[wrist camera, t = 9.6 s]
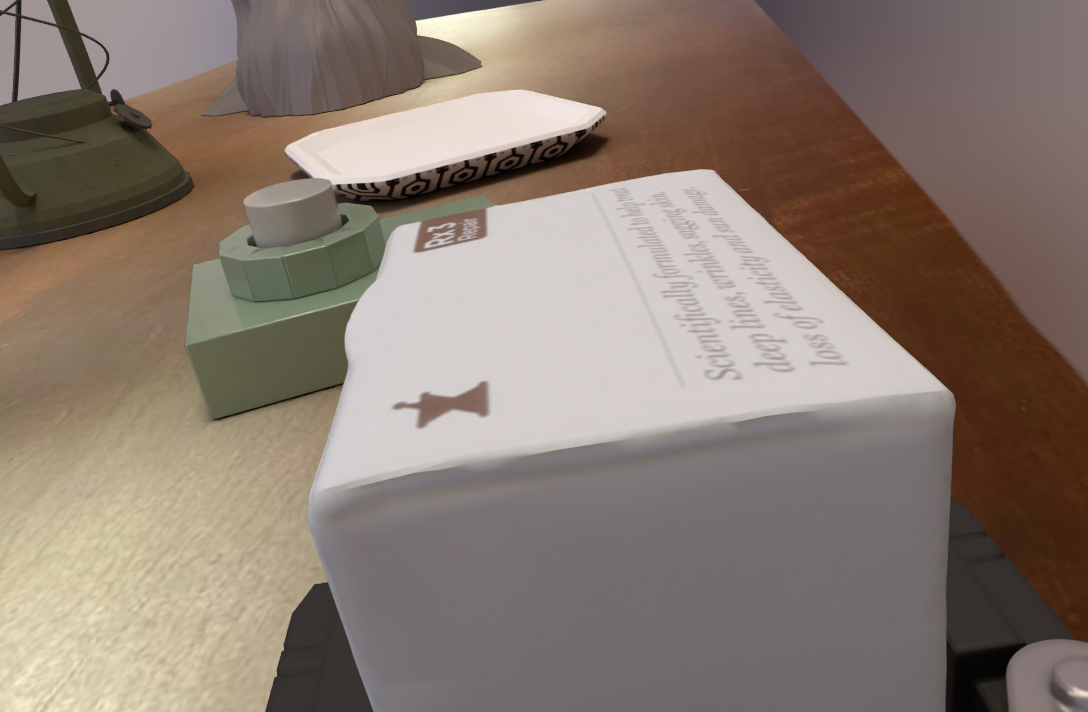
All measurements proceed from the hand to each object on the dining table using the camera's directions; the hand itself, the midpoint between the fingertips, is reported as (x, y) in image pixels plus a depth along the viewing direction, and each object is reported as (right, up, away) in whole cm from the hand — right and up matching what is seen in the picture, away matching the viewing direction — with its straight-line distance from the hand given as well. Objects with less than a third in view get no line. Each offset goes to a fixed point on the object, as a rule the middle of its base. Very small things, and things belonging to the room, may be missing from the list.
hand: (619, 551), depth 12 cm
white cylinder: (-11, +8, +25) cm, 28 cm away
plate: (-8, +17, +54) cm, 57 cm away
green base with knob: (-9, +4, +27) cm, 29 cm away
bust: (-25, +36, +96) cm, 106 cm away
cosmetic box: (+1, -7, +1) cm, 8 cm away
